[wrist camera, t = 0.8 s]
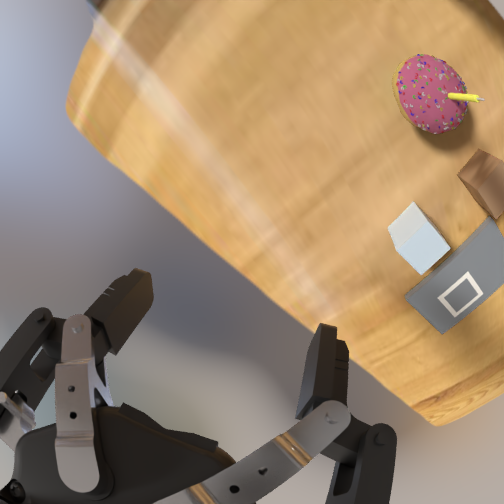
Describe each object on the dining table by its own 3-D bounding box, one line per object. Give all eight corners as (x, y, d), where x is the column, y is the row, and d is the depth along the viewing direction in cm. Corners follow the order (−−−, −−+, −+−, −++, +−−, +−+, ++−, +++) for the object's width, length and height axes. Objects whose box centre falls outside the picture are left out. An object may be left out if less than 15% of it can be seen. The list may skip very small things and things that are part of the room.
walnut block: (478, 148, 24) (502, 160, 19) (496, 176, 24) (519, 191, 19) (456, 174, 27) (477, 190, 22) (475, 200, 27) (496, 219, 22)
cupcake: (446, 65, 20) (498, 57, 10) (450, 132, 24) (502, 153, 14) (380, 56, 22) (409, 35, 13) (387, 126, 27) (419, 141, 17)
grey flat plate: (489, 215, 27) (493, 219, 26) (515, 264, 29) (519, 268, 28) (404, 295, 37) (406, 300, 36) (440, 329, 39) (442, 334, 37)
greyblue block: (413, 201, 30) (427, 220, 25) (435, 225, 31) (450, 248, 26) (387, 227, 33) (396, 250, 28) (410, 250, 34) (420, 275, 29)
